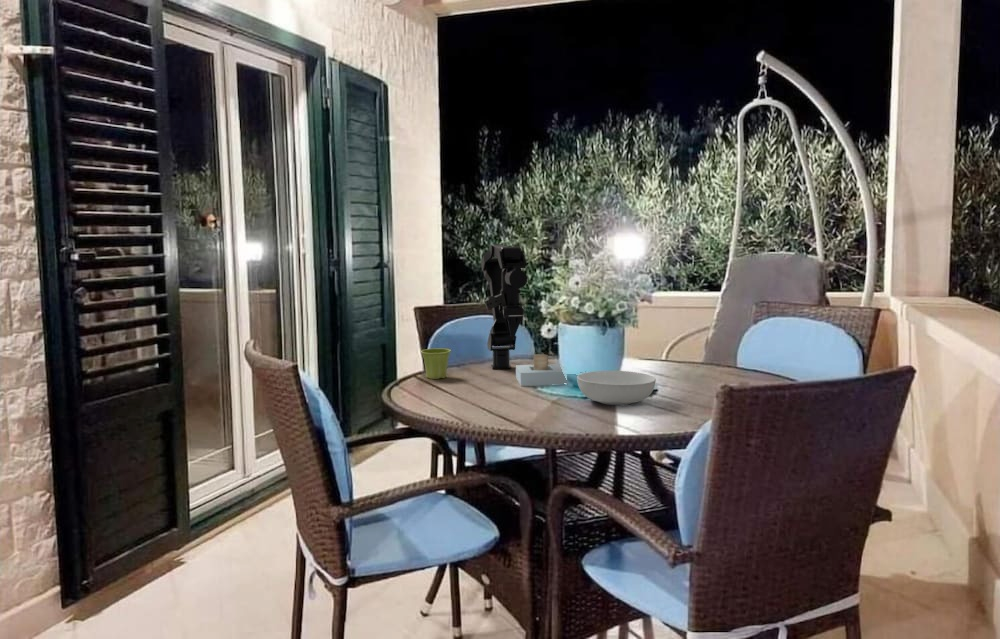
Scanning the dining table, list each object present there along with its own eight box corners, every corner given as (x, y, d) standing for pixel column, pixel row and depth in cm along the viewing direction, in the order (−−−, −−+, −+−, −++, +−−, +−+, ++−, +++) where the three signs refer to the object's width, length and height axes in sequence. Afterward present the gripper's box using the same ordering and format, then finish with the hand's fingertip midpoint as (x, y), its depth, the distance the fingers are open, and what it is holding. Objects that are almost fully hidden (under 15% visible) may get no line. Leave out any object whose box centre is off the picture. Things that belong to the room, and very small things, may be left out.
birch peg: (532, 380, 247) (532, 354, 246) (546, 379, 247) (546, 354, 246) (534, 382, 243) (534, 356, 242) (549, 382, 243) (548, 356, 242)
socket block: (515, 377, 251) (515, 365, 251) (559, 376, 252) (559, 364, 252) (520, 386, 237) (520, 372, 237) (567, 384, 239) (567, 371, 238)
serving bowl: (637, 414, 200) (637, 387, 200) (563, 405, 211) (563, 379, 211) (666, 398, 218) (667, 374, 217) (597, 391, 229) (597, 367, 228)
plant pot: (447, 380, 248) (446, 353, 247) (418, 380, 249) (417, 352, 248) (454, 375, 257) (453, 348, 256) (426, 374, 259) (425, 348, 258)
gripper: (483, 284, 261) (484, 332, 262) (487, 288, 242) (488, 339, 244) (517, 284, 262) (517, 331, 263) (523, 288, 243) (524, 338, 245)
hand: (511, 335), depth 254 cm, fingers open, 9 cm apart
